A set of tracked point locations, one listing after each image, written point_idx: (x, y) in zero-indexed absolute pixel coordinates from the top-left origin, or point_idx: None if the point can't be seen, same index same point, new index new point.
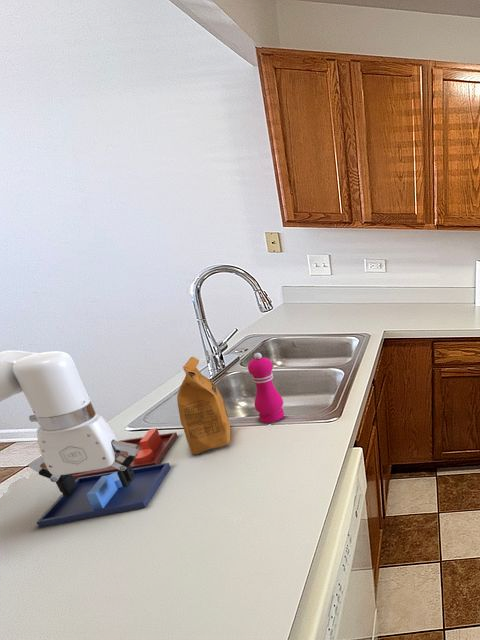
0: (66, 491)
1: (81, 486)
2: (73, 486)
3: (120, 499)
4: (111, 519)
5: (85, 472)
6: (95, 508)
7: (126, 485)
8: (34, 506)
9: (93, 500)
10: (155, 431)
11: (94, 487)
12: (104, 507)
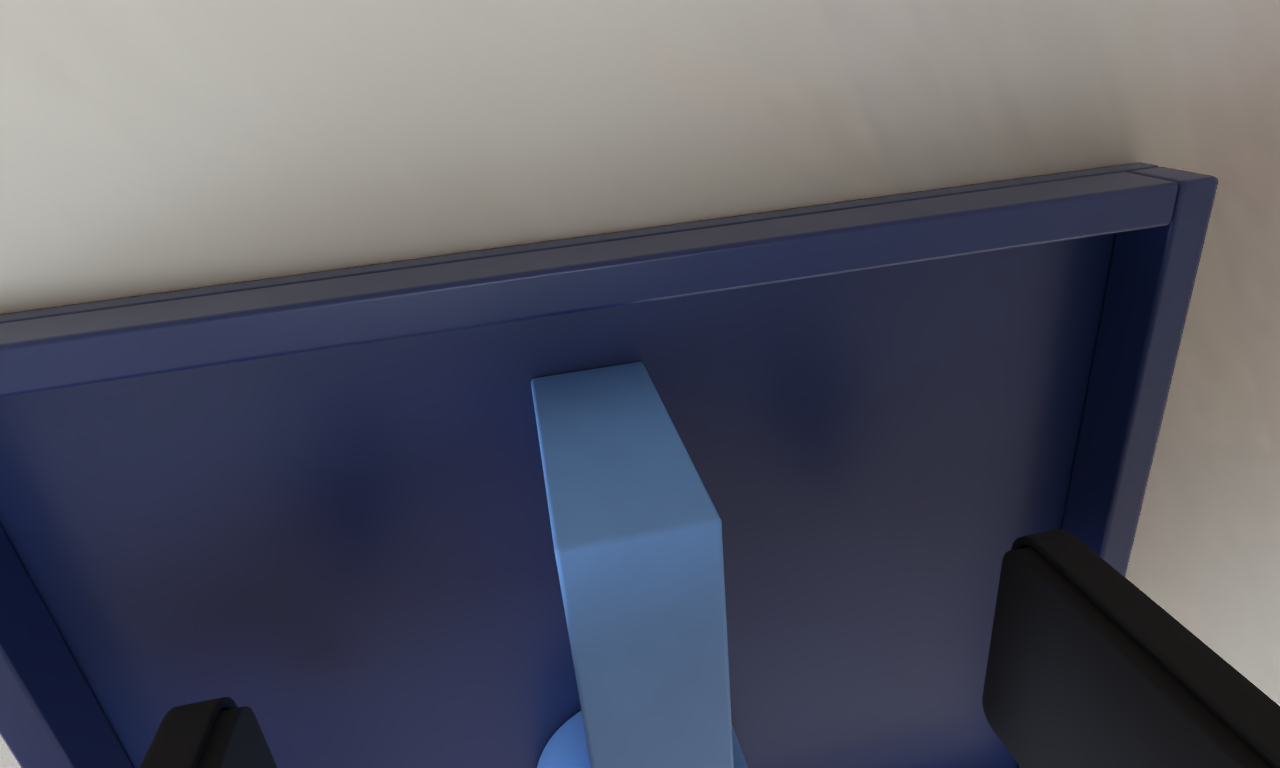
0: (1088, 616)
1: (986, 737)
2: (1035, 721)
3: (415, 529)
4: (265, 140)
5: None
6: (615, 374)
7: (165, 731)
8: (1274, 521)
9: (622, 451)
10: None
11: (690, 692)
12: (532, 402)
